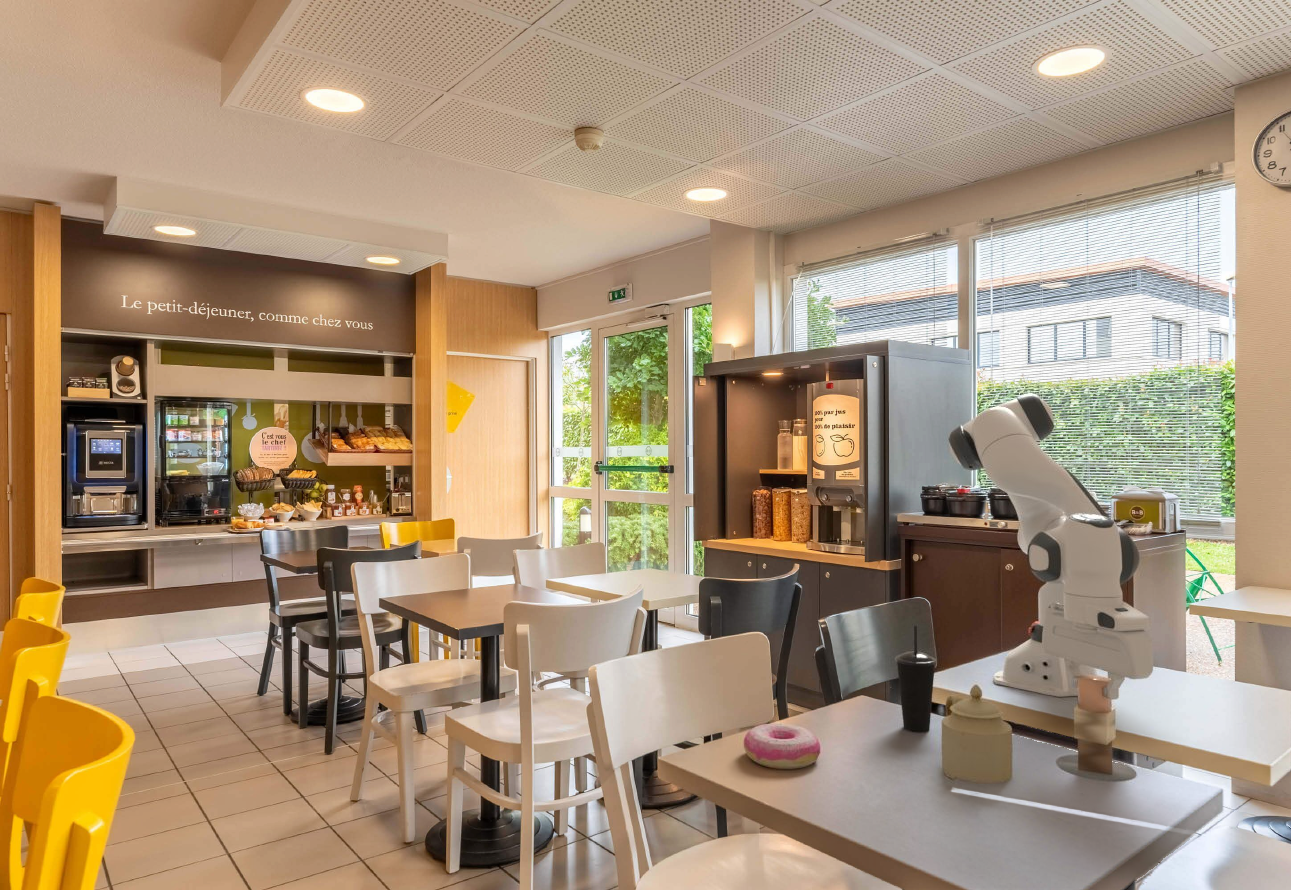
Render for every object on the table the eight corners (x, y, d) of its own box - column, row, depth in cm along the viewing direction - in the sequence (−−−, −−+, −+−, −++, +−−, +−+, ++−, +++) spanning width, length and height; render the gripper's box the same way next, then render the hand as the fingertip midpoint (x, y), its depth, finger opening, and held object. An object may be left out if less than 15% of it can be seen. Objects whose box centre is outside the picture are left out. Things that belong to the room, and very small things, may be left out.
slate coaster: (1047, 772, 139) (1047, 769, 139) (1065, 753, 148) (1065, 749, 148) (1129, 790, 132) (1129, 786, 132) (1142, 768, 141) (1142, 765, 141)
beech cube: (1074, 737, 140) (1073, 708, 140) (1083, 730, 144) (1083, 701, 144) (1106, 744, 137) (1106, 714, 137) (1115, 737, 140) (1115, 707, 140)
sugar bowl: (910, 762, 144) (909, 676, 145) (952, 751, 150) (951, 667, 150) (983, 792, 132) (982, 697, 132) (1027, 778, 137) (1025, 687, 137)
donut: (778, 780, 137) (778, 749, 138) (727, 756, 149) (727, 728, 149) (836, 763, 145) (835, 734, 145) (783, 741, 156) (783, 715, 156)
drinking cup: (896, 732, 160) (894, 628, 160) (896, 720, 167) (895, 621, 168) (937, 736, 158) (936, 630, 158) (936, 723, 165) (935, 623, 166)
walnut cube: (1078, 769, 139) (1077, 739, 139) (1079, 759, 143) (1078, 730, 144) (1112, 775, 137) (1112, 744, 137) (1112, 765, 141) (1111, 735, 141)
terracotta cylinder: (1074, 709, 140) (1074, 679, 140) (1081, 702, 144) (1081, 673, 144) (1108, 714, 137) (1107, 684, 137) (1114, 707, 140) (1113, 677, 141)
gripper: (1032, 601, 150) (1033, 678, 149) (1128, 622, 130) (1129, 711, 130) (1061, 599, 151) (1062, 675, 151) (1159, 620, 132) (1161, 707, 132)
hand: (1094, 692), depth 140 cm, fingers open, 5 cm apart
